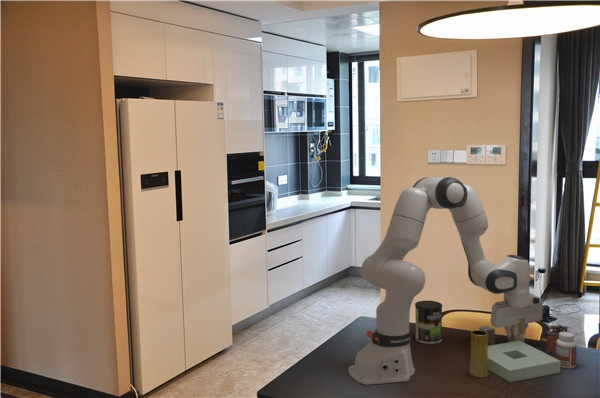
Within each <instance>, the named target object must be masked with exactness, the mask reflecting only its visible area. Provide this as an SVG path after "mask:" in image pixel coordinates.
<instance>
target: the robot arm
mask: <svg viewBox="0 0 600 398" xmlns="http://www.w3.org/2000/svg"><path fill="white" fill-rule="evenodd" d="M430 209H437V210H442V209H444V210H445V209H447V210H449V212H450V213H451V217H452V220H453V223H454V225H455V227H456V229H457V232H458V234H459V239H460V241H461V244H462V247H463V250H464V253H465V257H466V260H467V265H468V266H467V268H468V269H467V275H468V279H469V280H470V281H469V282H471V283H472V284H473V285H475V286H477V287H480V288H481V289H483V290H485V291H487V292H489V293H492V294H495V295H500V294H503V300H501V301H496V302H495V303H493V304H492V306H491V315H490V324H491V327H493V328H496V329H499V328H504V330H505V331H506V337H507V338H508V337H513V332H511V331H510V329H511V326H514V325H515V320H517V319H525V326H524V336H525V335H526V333H527V329H528V328H529V324H531V323H532V324H533V323H537V322H538V323H539V322H540V321H542V319H543V306H542V304H541V303H542V300H543V299H542V298H541V297H540V296H537V295H534V294H532V293H530V292H531V291H530V287H529V286H530V281H531V269H530V263H529V260H528V259H527V258H526V257H524V256H521V255H517V254H516V255H514V254H508V255H506V256H505V257H504V258H503V259H502V260H501V261H499V262H498V263H497V262H496V264H494V263H492V262H490V261H489V260H488V259H487V258H486V256H485V254H484V250H483V248H482V245H481V241H480V237H481V236H483V235H484V234H485V233H486V231H487V230H488V227H489V221H488V217H487V214H486V212H485V209H484V206H483V204H482V202H481V200H480V198H479V195H477V193H476V191H475V189H474V188H473V187H472V186H471V185H469V184H466V183H465V184H464V183H463V182H461V181H460V180H459V179H458V178H455V177H451V176H447V177H445V176H438V175H437V176H431V177H429V176H428V177H423V178H421V179H418V180H417V181H416V182H415V183H414V184H413V185H412V187H411V186H410V187H406V188H404V189H403V190H402V191H401V193H400V195H399V197H398V199H397V201H396V203H395V206H394V208H393V212H392V215H391V218H390V221H389V225H388V228H387V229H386V230H387V231H386V234H385V237H384V238H383V240H382V242H381V243H380V245H379V246H378V248H377V249H376V250H375V251H374V253H372V254H371V255H369V256H367V257H366V258H365V259H364V261H363V262H362V265H361V276H362V278H363V279H364V280H365V281H366V282H367V283H369V284H370V285H371V286H373V287H377V288H379V289H383V290H385V297H384V301H382V302H380V303H379V304H378V305H377V306H376V309H375V315H376V316H375V318H376V321H375V322H376V324H375V325H376V329H375V331H374V332H373V331H371V330H367V331H366V336H367V337H368V338H370V339H371V341H369V343H367V345H365V346H364V347H363V348H362V349H361V350H358V352H357V353H356V356H355V358H354V359H355V360H354V364H353V365H350V366H348V369H347V370H348V371H347V373H348V375H350V377H351V378H352V379H353V380H354V381H356V382H357V383H360V384H361V385H367V386H369V385H377V384H389V383H402V382H409V380H410V378H411V377H412V376H413V375H414V374H415V372H416V369H415V367H414V363H413V358H412V351H411V350H412V349H411V344H412V334H411V333H412V332H411V329H410V316H411V314H410V311H411V306H412V303H413V301H414V298H415V297H416V296H417V295H418V294H420V293H421V292H422V291H423V289H424V288H425V285H426V274H425V272H424V270H423V269H422V268H420V267H419V266H418V265H416V264H414V263H412V262H410V261H406V260H404V259H405V257H406V256H407V254H408V253H409V252H410V251H412V250H415V249H416V248H417V247H418V245H419V242H420V240H421V236H422V233H423V229H424V226H425V222H426V218H427V214H428V212H429V211H430Z"/></svg>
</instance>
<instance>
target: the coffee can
mask: <svg viewBox="0 0 600 398" xmlns="http://www.w3.org/2000/svg"><path fill="white" fill-rule="evenodd" d="M414 306H415V340H416V341H417V342H419V343H421V344H427V345H430V344H431V345H435V344H439V343H441V342H442V341H443V304H442V303H441V302H439V301H435V300H419V301H416V302H415V303H414Z"/></svg>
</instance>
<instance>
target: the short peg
mask: <svg viewBox="0 0 600 398" xmlns="http://www.w3.org/2000/svg"><path fill="white" fill-rule="evenodd" d="M478 330H483V331H486V332H487V333H488V346H490V345H496V344H495V343H496V342H495V341H496V329H495V327H493V326H490V325H483V326H479V327H478Z"/></svg>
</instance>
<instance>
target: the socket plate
mask: <svg viewBox="0 0 600 398" xmlns="http://www.w3.org/2000/svg"><path fill="white" fill-rule="evenodd" d="M560 364H561V361H559V360H557V359H556V357H553V356H552V355H549V353H546V352H544V351H541V350H539V349H538V348H535V347H534V346H531V345H529V343H528V344H527V343H526V342H525V341H524V342H522V341H514V342H508V341H507V342H505V343H504V342H503V343H502V342H501V343H498V344H493V345H488V371H490V372H492V373H494V374H495V375H496V376H498V377H500V378H502V379H503V380H505V381H506V382H508V383H513V382H519V381H523V380H524V381H525V380H530V379H535V378H540V377H544V376H549V375H554V374H560V373H561V367H560Z"/></svg>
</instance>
